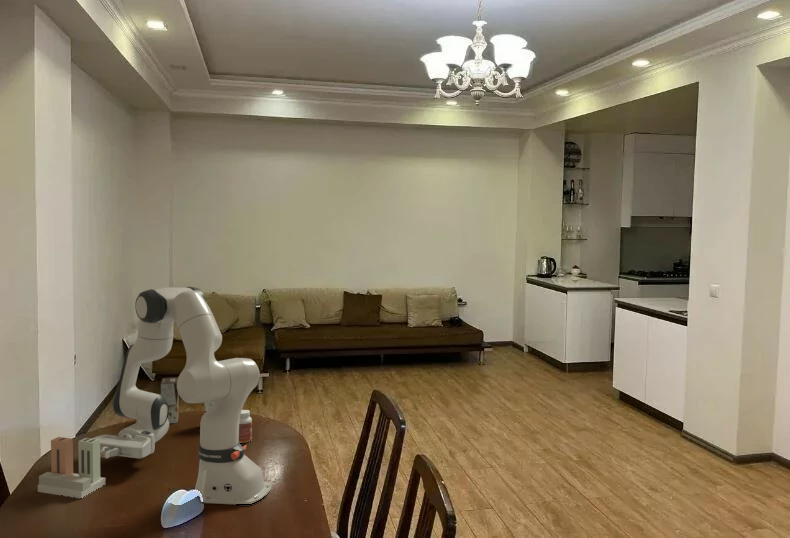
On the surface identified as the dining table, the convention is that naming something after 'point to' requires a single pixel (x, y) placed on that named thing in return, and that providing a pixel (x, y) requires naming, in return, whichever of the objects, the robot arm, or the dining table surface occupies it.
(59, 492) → the tile board
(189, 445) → the dining table surface
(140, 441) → the robot arm
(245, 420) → the pill bottle
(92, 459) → the pale green tall block
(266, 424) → the dining table surface
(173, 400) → the coffee box
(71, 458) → the orange-brown upright block
